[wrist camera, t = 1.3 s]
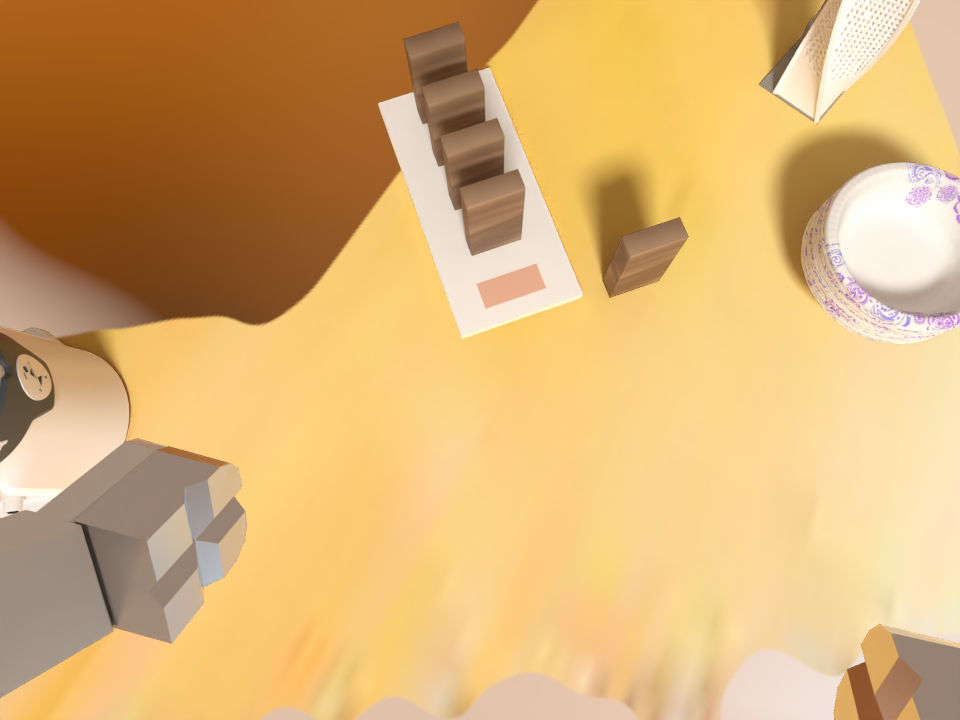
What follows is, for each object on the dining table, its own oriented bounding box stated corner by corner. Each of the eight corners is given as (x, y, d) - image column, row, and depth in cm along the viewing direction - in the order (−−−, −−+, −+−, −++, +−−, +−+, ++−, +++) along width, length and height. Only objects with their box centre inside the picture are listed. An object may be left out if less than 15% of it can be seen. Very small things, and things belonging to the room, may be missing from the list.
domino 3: (503, 194, 64) (504, 135, 54) (454, 210, 64) (447, 154, 54) (497, 178, 64) (497, 117, 55) (448, 194, 64) (440, 136, 54)
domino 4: (521, 239, 63) (525, 187, 53) (471, 256, 62) (467, 207, 53) (514, 223, 63) (517, 168, 53) (465, 239, 63) (459, 188, 53)
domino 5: (658, 280, 62) (688, 236, 53) (609, 297, 62) (630, 256, 52) (651, 264, 63) (679, 217, 53) (602, 280, 63) (622, 236, 53)
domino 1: (469, 109, 66) (465, 38, 56) (422, 124, 66) (409, 56, 56) (463, 94, 67) (458, 21, 57) (417, 109, 66) (403, 39, 57)
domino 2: (486, 151, 65) (484, 86, 55) (438, 166, 65) (427, 104, 55) (480, 136, 65) (477, 68, 56) (432, 151, 65) (421, 86, 55)
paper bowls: (959, 224, 63) (1023, 183, 55) (938, 373, 60) (1003, 351, 52) (799, 185, 64) (841, 139, 57) (770, 328, 61) (810, 300, 53)
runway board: (461, 338, 62) (460, 335, 60) (379, 109, 68) (377, 103, 67) (581, 297, 62) (582, 294, 61) (489, 73, 68) (489, 67, 67)
